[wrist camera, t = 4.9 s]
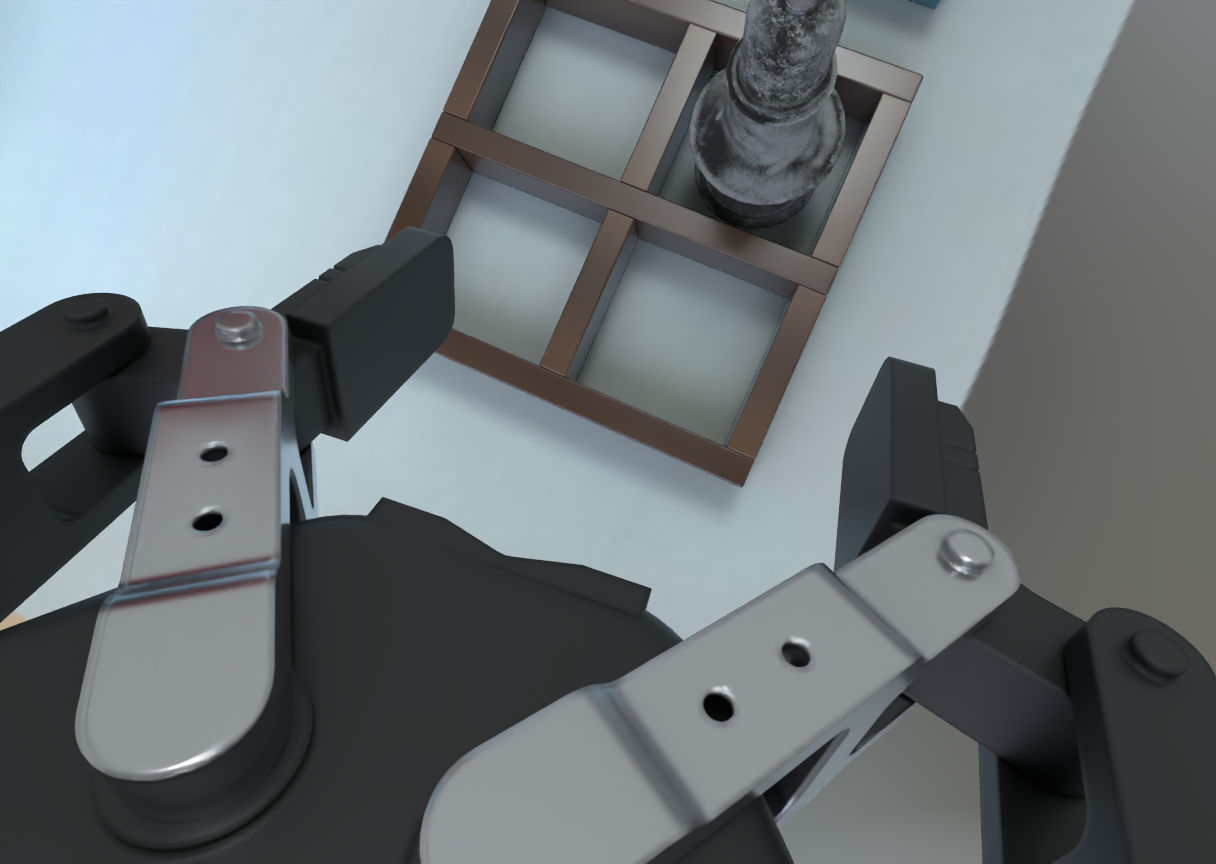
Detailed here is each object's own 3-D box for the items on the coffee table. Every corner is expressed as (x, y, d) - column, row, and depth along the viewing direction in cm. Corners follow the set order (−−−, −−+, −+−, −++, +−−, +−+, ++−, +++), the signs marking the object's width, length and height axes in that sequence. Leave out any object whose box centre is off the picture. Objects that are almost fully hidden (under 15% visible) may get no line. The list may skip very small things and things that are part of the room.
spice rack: (737, 486, 29) (742, 488, 27) (377, 327, 31) (350, 315, 29) (903, 107, 29) (924, 74, 27) (533, -27, 31) (520, -69, 29)
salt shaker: (853, 148, 29) (972, -68, 17) (773, 261, 29) (837, 123, 18) (739, 77, 30) (779, -179, 18) (661, 187, 30) (649, 6, 18)
